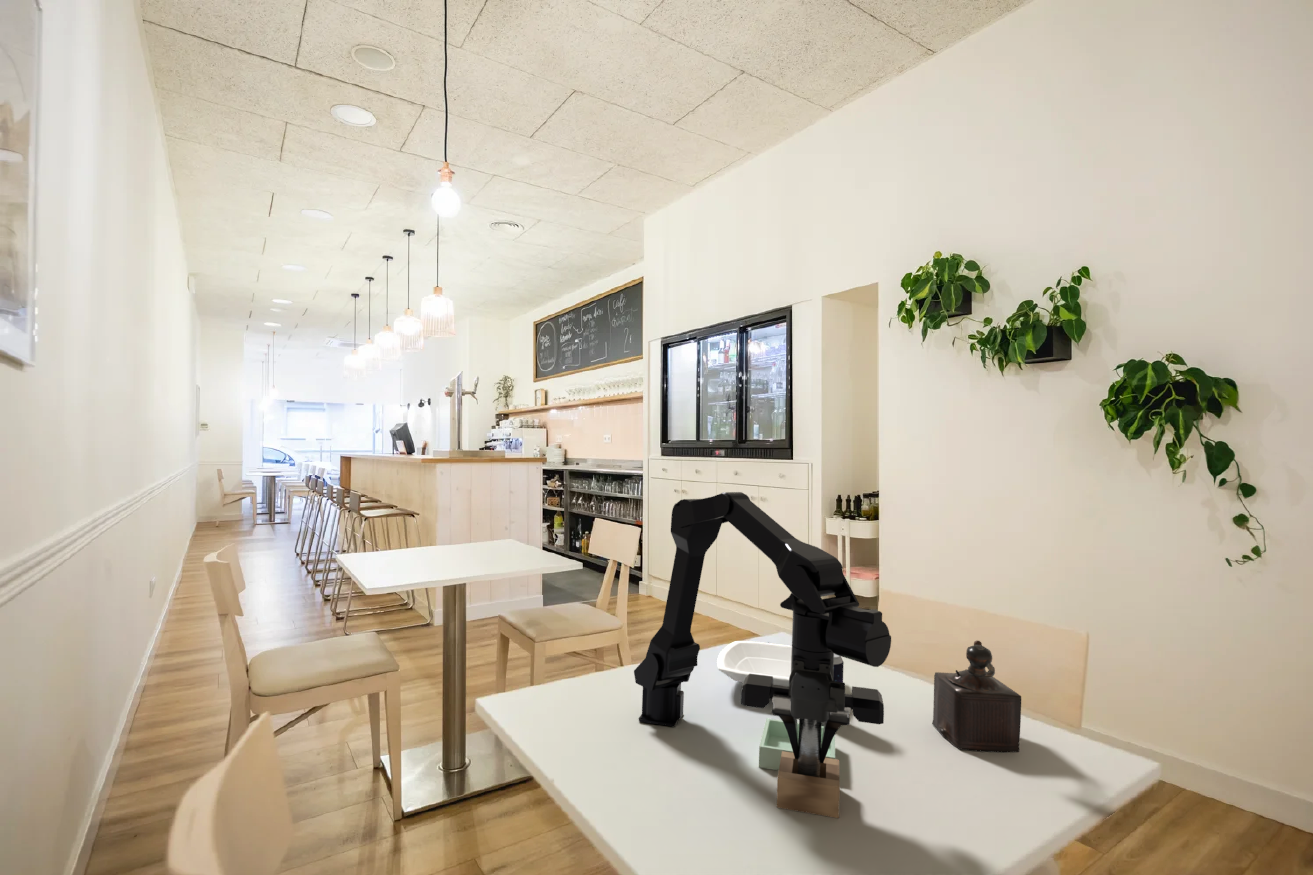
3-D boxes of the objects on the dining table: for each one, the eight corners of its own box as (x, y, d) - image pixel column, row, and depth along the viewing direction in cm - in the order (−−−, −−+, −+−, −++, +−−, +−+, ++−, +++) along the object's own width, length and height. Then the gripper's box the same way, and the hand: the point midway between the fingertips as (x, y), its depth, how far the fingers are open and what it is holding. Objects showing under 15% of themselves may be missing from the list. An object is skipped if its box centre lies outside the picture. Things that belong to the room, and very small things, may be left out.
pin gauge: (796, 785, 89) (799, 711, 89) (797, 775, 92) (800, 703, 92) (819, 789, 88) (821, 714, 88) (819, 778, 91) (822, 706, 91)
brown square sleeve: (776, 807, 87) (777, 777, 87) (781, 778, 95) (781, 751, 95) (838, 818, 85) (839, 787, 85) (838, 788, 92) (839, 759, 93)
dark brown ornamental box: (927, 723, 116) (929, 622, 117) (989, 726, 116) (991, 624, 117) (969, 765, 101) (972, 649, 101) (1040, 768, 101) (1042, 651, 101)
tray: (758, 767, 98) (759, 746, 98) (765, 736, 109) (766, 718, 109) (834, 779, 95) (835, 757, 95) (834, 746, 106) (834, 727, 106)
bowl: (833, 716, 118) (834, 685, 118) (707, 698, 125) (708, 668, 125) (835, 677, 140) (836, 650, 140) (728, 663, 146) (728, 638, 146)
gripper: (737, 655, 85) (733, 776, 84) (889, 673, 80) (885, 801, 80) (748, 633, 96) (744, 740, 95) (882, 647, 91) (878, 760, 90)
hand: (809, 759), depth 90 cm, fingers closed on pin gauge, 3 cm apart
